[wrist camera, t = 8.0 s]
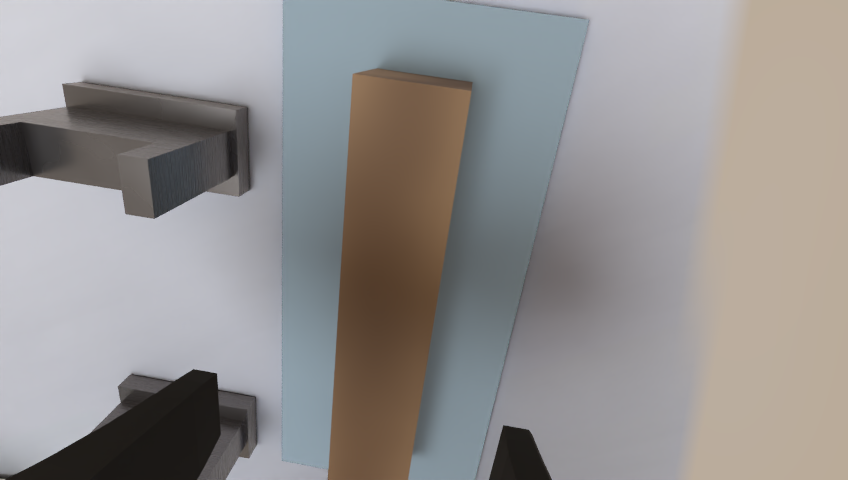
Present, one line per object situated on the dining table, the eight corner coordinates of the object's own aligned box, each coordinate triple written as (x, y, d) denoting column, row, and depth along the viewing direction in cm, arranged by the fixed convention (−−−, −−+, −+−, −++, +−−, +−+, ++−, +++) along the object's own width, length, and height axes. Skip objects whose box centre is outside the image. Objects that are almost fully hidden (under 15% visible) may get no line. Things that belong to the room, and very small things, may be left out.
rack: (247, 107, 16) (151, 132, 11) (256, 444, 22) (198, 549, 17) (81, 82, 16) (-79, 96, 11) (138, 422, 22) (51, 519, 18)
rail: (472, 82, 14) (471, 90, 11) (411, 455, 20) (401, 518, 18) (376, 68, 14) (352, 73, 11) (346, 443, 21) (326, 504, 18)
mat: (584, 21, 14) (589, 20, 13) (471, 485, 22) (470, 496, 21) (290, -20, 14) (282, -22, 13) (286, 450, 22) (281, 460, 21)
